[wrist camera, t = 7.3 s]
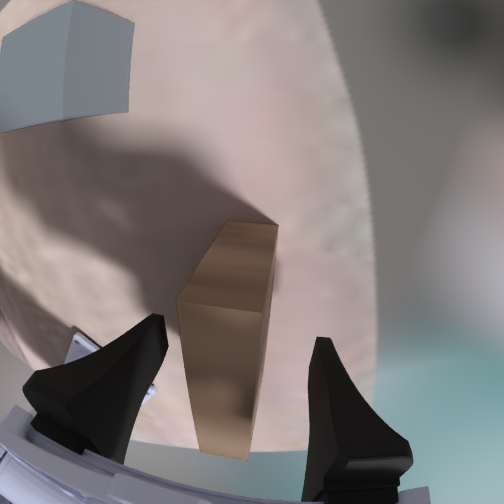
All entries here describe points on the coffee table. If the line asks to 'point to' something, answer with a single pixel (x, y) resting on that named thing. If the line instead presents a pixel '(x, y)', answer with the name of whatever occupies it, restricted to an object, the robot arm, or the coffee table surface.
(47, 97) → the letter block
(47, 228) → the coffee table surface
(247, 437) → the walnut board
